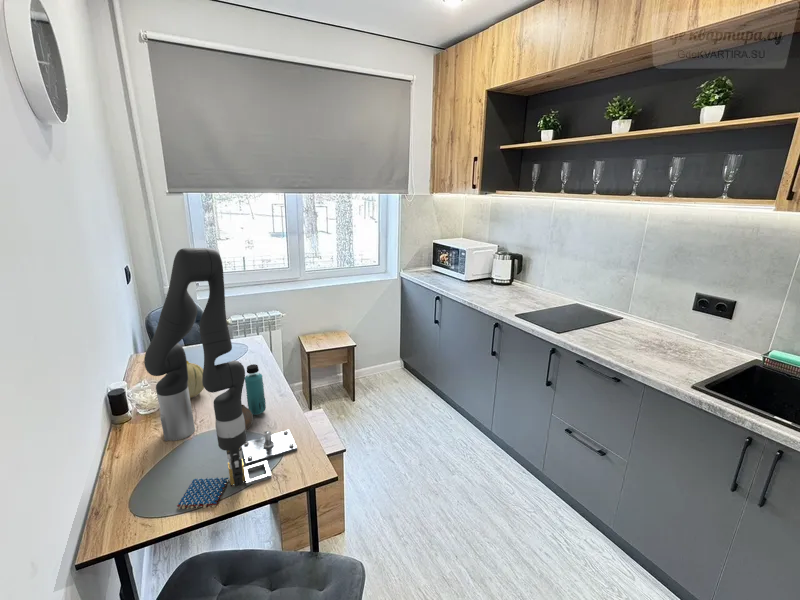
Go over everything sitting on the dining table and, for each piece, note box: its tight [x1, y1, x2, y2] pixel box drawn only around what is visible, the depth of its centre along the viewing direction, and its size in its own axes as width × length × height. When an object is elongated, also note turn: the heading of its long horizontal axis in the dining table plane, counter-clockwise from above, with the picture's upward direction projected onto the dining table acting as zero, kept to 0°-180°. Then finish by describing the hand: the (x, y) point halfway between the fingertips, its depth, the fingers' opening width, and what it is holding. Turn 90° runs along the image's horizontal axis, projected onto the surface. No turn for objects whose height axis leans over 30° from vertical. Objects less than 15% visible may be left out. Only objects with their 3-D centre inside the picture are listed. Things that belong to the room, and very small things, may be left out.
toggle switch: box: [241, 429, 298, 466], centre depth 127 cm, size 16×11×6 cm
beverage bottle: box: [244, 364, 267, 415], centre depth 144 cm, size 6×7×20 cm
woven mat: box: [176, 476, 230, 510], centre depth 108 cm, size 10×11×2 cm
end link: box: [227, 459, 272, 486], centre depth 114 cm, size 11×7×6 cm, turn 119°
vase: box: [242, 404, 254, 430], centre depth 137 cm, size 7×7×9 cm
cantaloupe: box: [187, 360, 205, 399], centre depth 156 cm, size 15×15×15 cm
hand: (237, 477), depth 113 cm, fingers open, 6 cm apart
